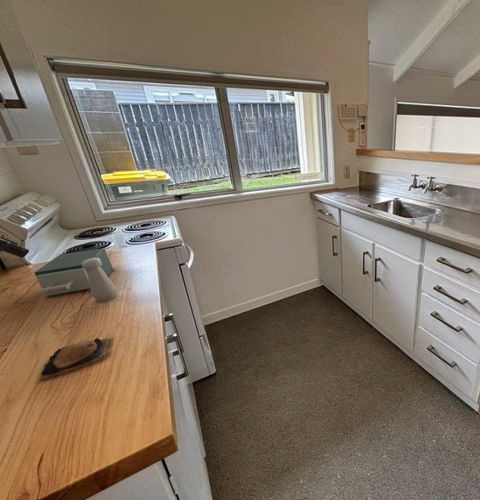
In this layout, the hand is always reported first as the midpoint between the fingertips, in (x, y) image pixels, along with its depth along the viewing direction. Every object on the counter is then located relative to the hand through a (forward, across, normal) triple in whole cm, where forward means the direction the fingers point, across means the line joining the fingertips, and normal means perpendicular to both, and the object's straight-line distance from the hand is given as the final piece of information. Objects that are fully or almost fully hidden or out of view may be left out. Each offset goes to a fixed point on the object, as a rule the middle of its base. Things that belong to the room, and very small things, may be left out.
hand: (20, 250), depth 72 cm
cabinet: (+23, +16, +4) cm, 29 cm away
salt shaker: (+22, -4, +4) cm, 23 cm away
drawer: (+21, +13, +5) cm, 25 cm away
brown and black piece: (+12, -29, +15) cm, 35 cm away
